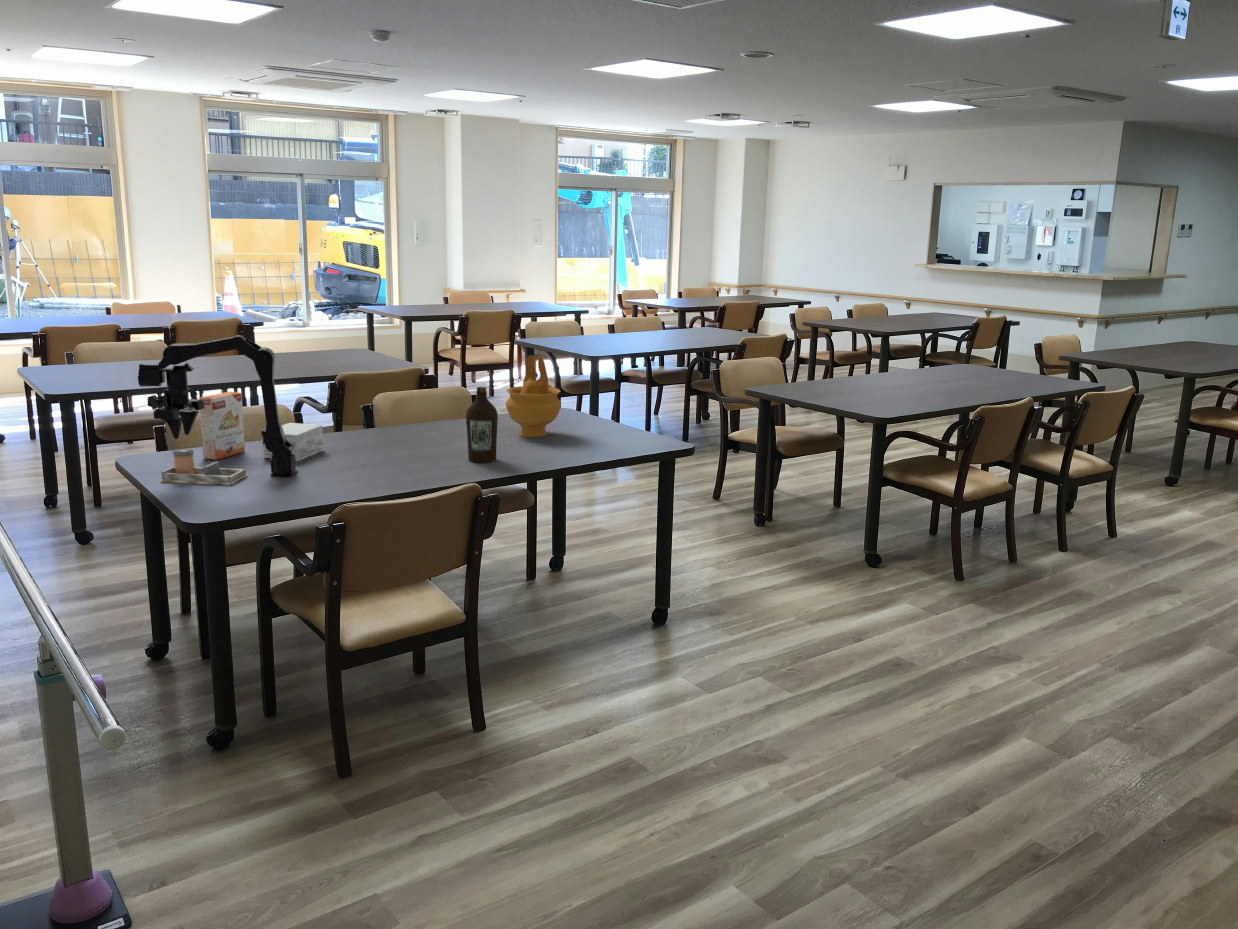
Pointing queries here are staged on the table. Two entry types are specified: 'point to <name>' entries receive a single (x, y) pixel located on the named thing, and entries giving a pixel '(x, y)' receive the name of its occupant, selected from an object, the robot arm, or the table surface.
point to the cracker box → (222, 425)
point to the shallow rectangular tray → (204, 476)
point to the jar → (184, 461)
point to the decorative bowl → (533, 401)
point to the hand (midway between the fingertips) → (181, 436)
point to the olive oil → (481, 429)
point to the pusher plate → (212, 469)
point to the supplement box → (301, 440)
